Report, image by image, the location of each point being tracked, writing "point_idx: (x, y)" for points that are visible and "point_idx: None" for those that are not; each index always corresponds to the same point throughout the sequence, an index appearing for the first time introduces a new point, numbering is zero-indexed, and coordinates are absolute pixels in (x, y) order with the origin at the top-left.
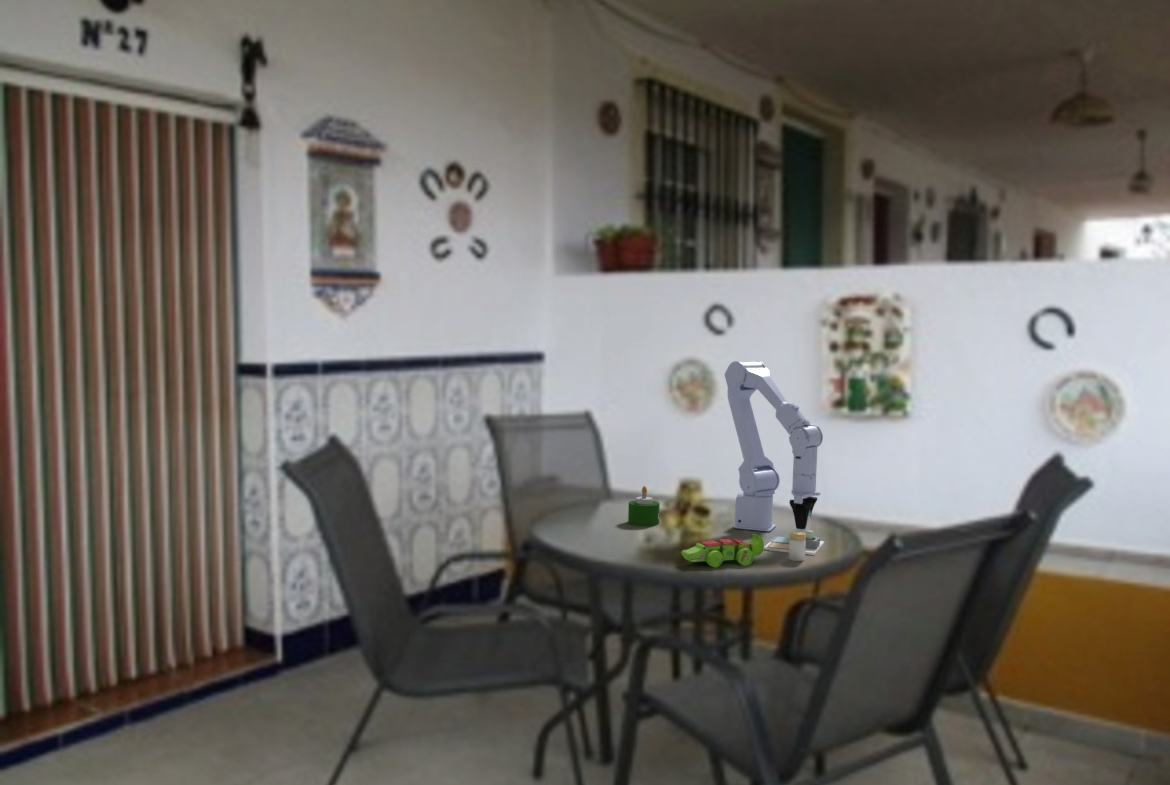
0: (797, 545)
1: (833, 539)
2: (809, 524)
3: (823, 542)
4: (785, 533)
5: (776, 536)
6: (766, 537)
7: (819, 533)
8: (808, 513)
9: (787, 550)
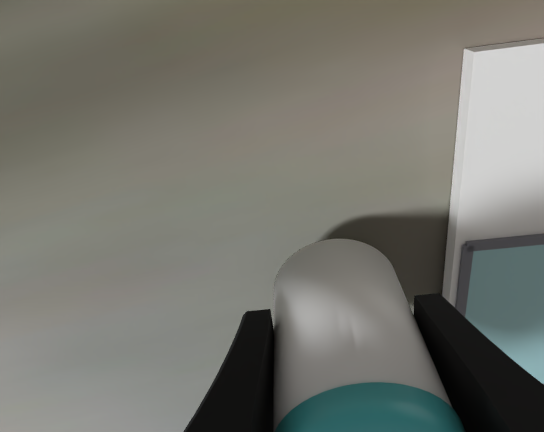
0: None
1: (208, 26)
2: (362, 301)
3: (528, 44)
4: None
5: None
6: None
7: (60, 211)
8: (534, 426)
9: None
